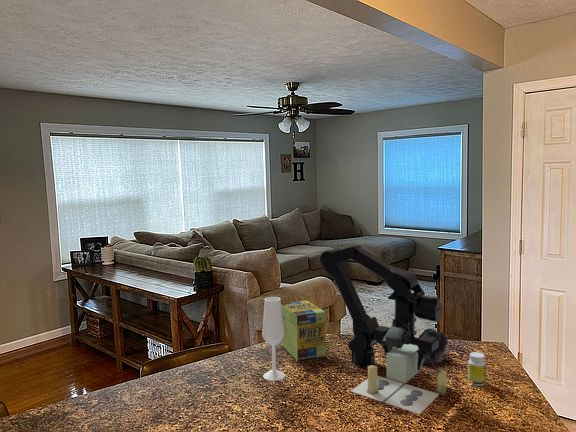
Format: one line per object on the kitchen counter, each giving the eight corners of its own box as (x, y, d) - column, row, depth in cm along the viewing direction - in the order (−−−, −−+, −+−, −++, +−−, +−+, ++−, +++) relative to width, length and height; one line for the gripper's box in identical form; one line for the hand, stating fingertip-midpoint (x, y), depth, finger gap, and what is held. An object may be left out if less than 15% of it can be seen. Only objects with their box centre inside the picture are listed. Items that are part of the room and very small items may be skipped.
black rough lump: (396, 360, 153) (397, 332, 150) (412, 344, 163) (413, 318, 161) (436, 373, 145) (438, 344, 143) (450, 355, 156) (452, 328, 153)
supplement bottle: (487, 387, 131) (487, 358, 131) (469, 385, 132) (470, 357, 132) (483, 379, 136) (484, 351, 135) (466, 378, 137) (467, 350, 136)
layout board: (350, 395, 128) (350, 366, 127) (373, 378, 138) (373, 351, 137) (419, 418, 115) (419, 387, 115) (439, 398, 125) (439, 369, 125)
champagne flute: (264, 370, 145) (262, 295, 142) (285, 371, 144) (284, 295, 142) (262, 380, 138) (260, 302, 136) (284, 380, 138) (282, 302, 135)
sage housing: (386, 381, 136) (386, 353, 135) (402, 368, 144) (402, 342, 144) (405, 387, 132) (405, 358, 131) (420, 373, 141) (421, 346, 140)
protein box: (297, 361, 151) (296, 315, 150) (281, 345, 166) (280, 303, 164) (326, 356, 155) (325, 311, 154) (307, 341, 169) (307, 299, 168)
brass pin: (434, 396, 126) (435, 372, 126) (438, 393, 128) (438, 368, 128) (444, 399, 125) (444, 374, 124) (447, 395, 127) (448, 371, 126)
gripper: (363, 316, 136) (363, 367, 138) (424, 329, 124) (423, 385, 126) (381, 307, 145) (381, 355, 146) (439, 318, 133) (438, 370, 134)
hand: (404, 366), depth 138 cm, fingers open, 9 cm apart
